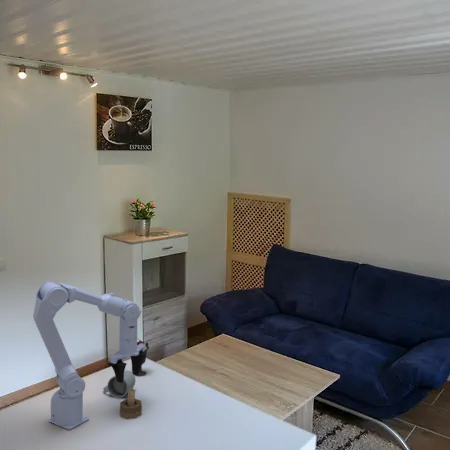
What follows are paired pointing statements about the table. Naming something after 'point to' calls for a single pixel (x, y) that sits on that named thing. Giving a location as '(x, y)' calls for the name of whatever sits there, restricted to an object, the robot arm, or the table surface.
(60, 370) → the robot arm
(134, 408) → the bead
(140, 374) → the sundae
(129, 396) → the dowel
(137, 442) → the table surface
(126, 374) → the ceramic mug
